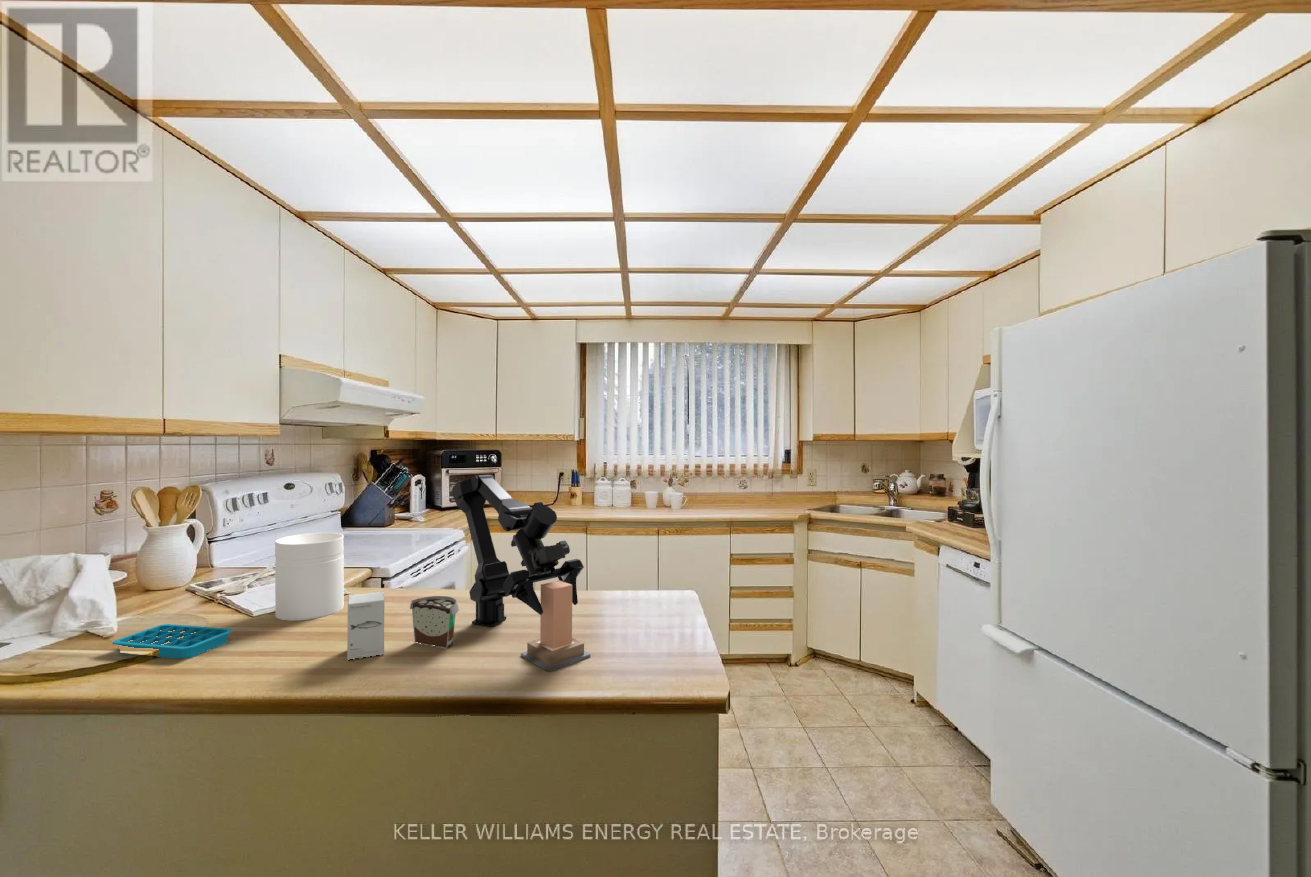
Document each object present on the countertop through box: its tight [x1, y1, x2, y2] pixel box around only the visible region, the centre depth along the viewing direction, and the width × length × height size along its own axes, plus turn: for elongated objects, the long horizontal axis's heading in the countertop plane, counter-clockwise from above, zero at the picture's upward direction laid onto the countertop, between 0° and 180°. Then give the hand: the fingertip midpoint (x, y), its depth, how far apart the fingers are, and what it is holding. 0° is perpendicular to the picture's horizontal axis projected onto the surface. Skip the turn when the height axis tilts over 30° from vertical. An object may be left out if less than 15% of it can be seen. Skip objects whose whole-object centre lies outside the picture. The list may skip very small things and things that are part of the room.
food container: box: [409, 595, 460, 650], centre depth 129 cm, size 12×6×10 cm, turn 71°
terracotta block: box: [539, 579, 573, 649], centre depth 121 cm, size 5×5×13 cm
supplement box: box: [346, 591, 385, 661], centre depth 122 cm, size 7×7×13 cm
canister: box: [274, 532, 345, 622], centre depth 150 cm, size 16×16×20 cm
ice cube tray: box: [111, 623, 234, 660], centre depth 124 cm, size 12×20×3 cm, turn 81°
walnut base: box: [520, 637, 591, 673], centre depth 122 cm, size 11×11×3 cm
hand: (559, 608), depth 120 cm, fingers open, 9 cm apart
